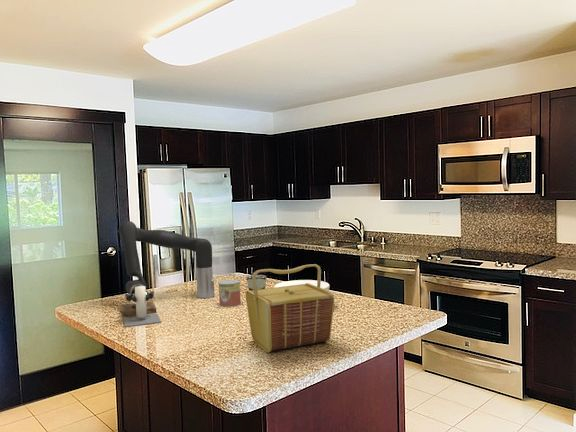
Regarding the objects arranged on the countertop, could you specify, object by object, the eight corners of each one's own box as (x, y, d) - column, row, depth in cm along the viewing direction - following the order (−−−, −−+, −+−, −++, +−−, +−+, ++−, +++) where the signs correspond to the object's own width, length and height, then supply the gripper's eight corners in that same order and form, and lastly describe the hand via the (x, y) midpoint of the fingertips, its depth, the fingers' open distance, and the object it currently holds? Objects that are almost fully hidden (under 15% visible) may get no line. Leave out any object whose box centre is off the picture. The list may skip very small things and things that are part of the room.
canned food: (215, 306, 249) (214, 283, 249) (226, 301, 260) (225, 279, 259) (234, 307, 245) (233, 284, 245) (244, 302, 256) (243, 280, 255)
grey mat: (157, 314, 236) (157, 313, 236) (161, 322, 221) (161, 321, 221) (123, 318, 230) (123, 317, 230) (125, 327, 215) (125, 326, 215)
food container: (268, 291, 282) (268, 274, 281) (267, 293, 276) (266, 276, 275) (248, 291, 283) (247, 274, 282) (246, 293, 277) (245, 276, 276)
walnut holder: (153, 305, 254) (152, 301, 254) (156, 312, 240) (156, 307, 239) (121, 309, 249) (121, 304, 248) (123, 316, 234) (122, 311, 234)
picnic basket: (267, 359, 169) (264, 275, 167) (244, 339, 193) (241, 265, 191) (338, 345, 181) (336, 267, 179) (308, 328, 204) (306, 259, 203)
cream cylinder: (146, 314, 228) (144, 285, 228) (147, 316, 224) (145, 287, 223) (136, 315, 227) (134, 286, 226) (136, 317, 222) (135, 288, 221)
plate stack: (290, 318, 222) (290, 293, 221) (265, 305, 247) (265, 284, 246) (340, 309, 235) (340, 286, 234) (312, 298, 260) (311, 277, 259)
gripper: (123, 286, 235) (124, 293, 219) (152, 283, 241) (156, 289, 225) (123, 301, 236) (125, 309, 220) (153, 298, 241) (157, 305, 225)
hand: (141, 299), depth 222 cm, fingers closed on cream cylinder, 4 cm apart
